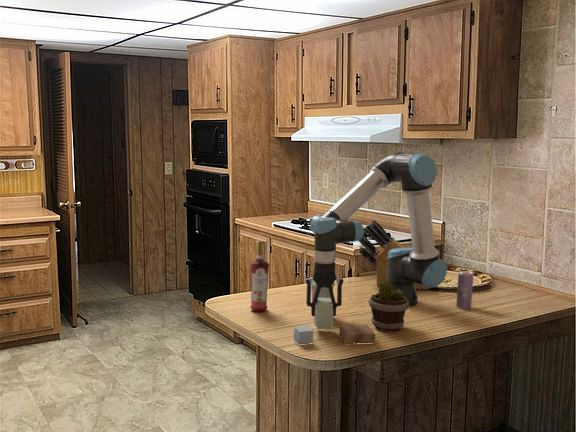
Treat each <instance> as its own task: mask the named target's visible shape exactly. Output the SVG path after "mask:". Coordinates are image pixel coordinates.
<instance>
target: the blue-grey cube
mask: <svg viewBox="0 0 576 432" xmlns="http://www.w3.org/2000/svg"><path fill="white" fill-rule="evenodd" d="M293 328H294V329H293V341H294V340H295V341H296V342H297V343H298V344H309V343H313V344H314V330H313V329H312V328H311V327H309V325H304V326H295V327H293ZM298 344H297V345H298Z"/></svg>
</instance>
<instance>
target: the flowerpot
mask: <svg viewBox="0 0 576 432" xmlns="http://www.w3.org/2000/svg"><path fill="white" fill-rule="evenodd" d="M380 283H381V284H380V285H379V286H380V287H378V286H376V287H377V293H376V294H371V297H369V298H368V305H369V307H370V309H371V314H372V317H371V323H372V325H373V326H375V327H376V328H375V327H374V328H375V329H377V328H378V329H377V330H379V329H381V330H380V331H383V330H384V332H398V331H400V330H401V329H402V327H404V325H405V319H404V317H405V315H406V311H407V310H408V309H409V302H408V300H407V299H406V297H405V296H404V295H403V294H402V292H400V291H398V290H397V291H393V292H392V290H394V289H393V288H394V287H392V283H391V282H389V280H388V281H387V278H386V280H383V282H382V281H380ZM397 330H398V331H397Z"/></svg>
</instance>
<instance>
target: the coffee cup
mask: <svg viewBox="0 0 576 432" xmlns="http://www.w3.org/2000/svg"><path fill="white" fill-rule="evenodd" d="M316 285H317V284H316V283H315V281H314V280H313V281H312V284H311V301H312V300H313V297H314V293H315V290H316ZM335 285H336V282H334V283H333V284H332V289H333V290H334V286H335ZM318 298H330V293H329V289H328V288H326V287H323V288H321V290H320V293H319V296H318ZM330 299H331V298H330Z"/></svg>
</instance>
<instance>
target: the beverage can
mask: <svg viewBox="0 0 576 432" xmlns="http://www.w3.org/2000/svg"><path fill="white" fill-rule="evenodd" d="M457 275H458V276H457V277H458V278H457V290H456V304H455V306H456V308H457V309H459V310H466V311H467V310H470V309H471V308H472V301H473V300H472V299H473V288H474V287H473V286H474V272H472V271H470V270H460V271H459V272H458V274H457Z"/></svg>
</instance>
